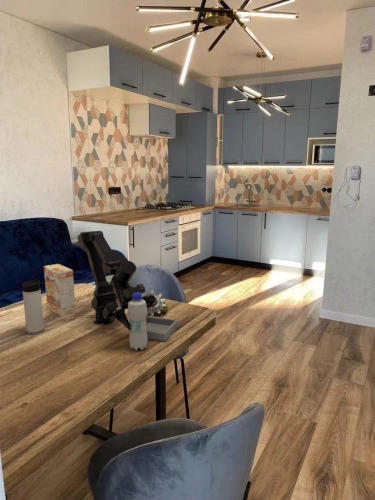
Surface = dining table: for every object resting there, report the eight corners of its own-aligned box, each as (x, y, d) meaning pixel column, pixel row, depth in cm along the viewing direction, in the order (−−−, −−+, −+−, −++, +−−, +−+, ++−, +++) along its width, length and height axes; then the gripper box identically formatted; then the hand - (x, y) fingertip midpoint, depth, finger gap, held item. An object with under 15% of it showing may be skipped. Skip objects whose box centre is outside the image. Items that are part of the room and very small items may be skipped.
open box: (130, 336, 141) (129, 329, 140) (146, 322, 153) (146, 315, 153) (164, 341, 136) (164, 334, 135) (178, 327, 149) (178, 319, 148)
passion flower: (152, 328, 162) (136, 309, 156) (149, 314, 171) (133, 296, 166) (174, 313, 161) (158, 294, 156) (169, 300, 171) (154, 282, 166)
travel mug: (48, 329, 148) (44, 279, 144) (35, 335, 142) (30, 284, 138) (36, 326, 150) (31, 278, 146) (23, 332, 144) (17, 282, 140)
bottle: (144, 352, 128) (143, 296, 124) (126, 351, 129) (123, 295, 125) (150, 344, 134) (149, 290, 130) (132, 342, 136) (130, 289, 132)
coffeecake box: (46, 307, 171) (43, 266, 167) (61, 304, 176) (58, 263, 172) (60, 317, 160) (57, 272, 156) (76, 312, 165) (73, 269, 161)
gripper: (104, 281, 125) (120, 323, 119) (152, 272, 136) (170, 310, 130) (96, 298, 133) (110, 338, 127) (142, 288, 144) (158, 325, 137)
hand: (138, 327), depth 130 cm, fingers closed on bottle, 6 cm apart
